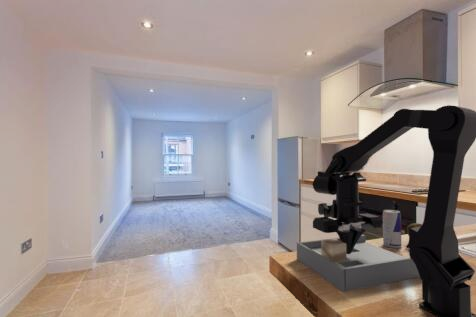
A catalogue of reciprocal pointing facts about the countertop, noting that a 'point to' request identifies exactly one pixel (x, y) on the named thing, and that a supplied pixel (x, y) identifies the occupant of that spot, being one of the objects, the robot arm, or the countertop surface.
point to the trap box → (357, 265)
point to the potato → (413, 226)
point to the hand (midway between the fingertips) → (347, 253)
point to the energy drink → (392, 228)
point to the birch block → (333, 250)
